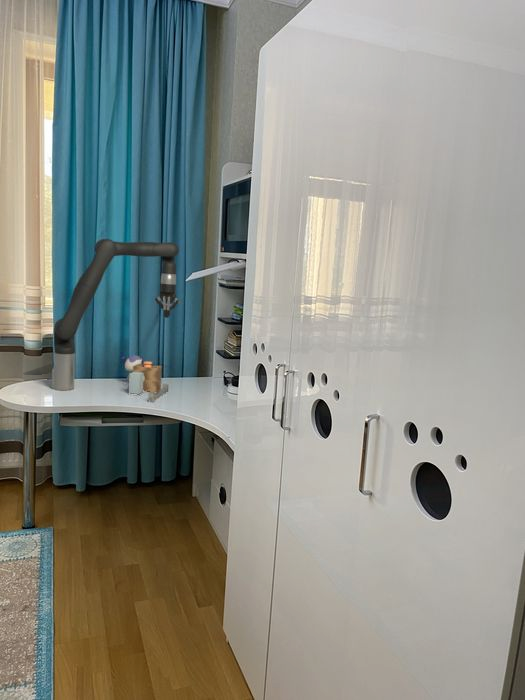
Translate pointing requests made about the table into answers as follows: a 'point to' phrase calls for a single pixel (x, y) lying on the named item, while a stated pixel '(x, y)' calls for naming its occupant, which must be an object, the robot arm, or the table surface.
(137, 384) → the pale grey rectangular block
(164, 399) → the table surface
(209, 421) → the table surface
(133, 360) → the toy
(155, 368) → the end cabinet
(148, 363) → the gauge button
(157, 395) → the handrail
